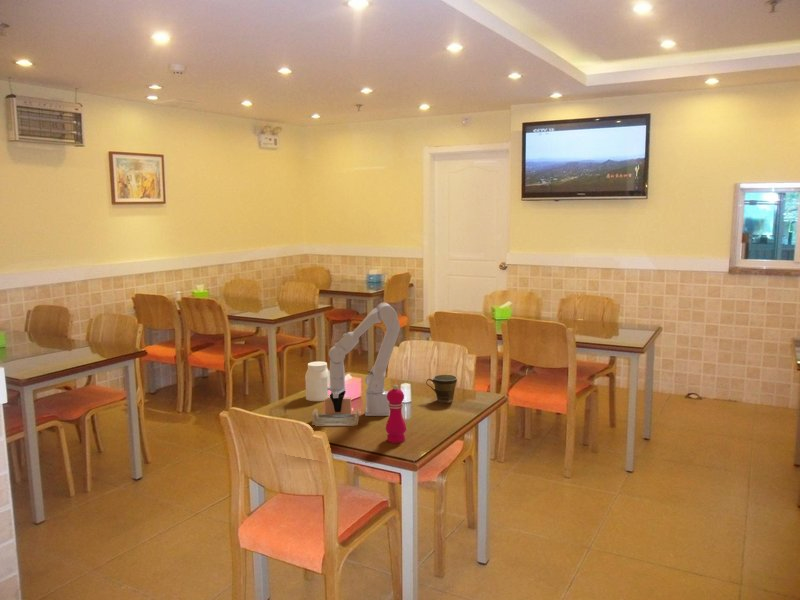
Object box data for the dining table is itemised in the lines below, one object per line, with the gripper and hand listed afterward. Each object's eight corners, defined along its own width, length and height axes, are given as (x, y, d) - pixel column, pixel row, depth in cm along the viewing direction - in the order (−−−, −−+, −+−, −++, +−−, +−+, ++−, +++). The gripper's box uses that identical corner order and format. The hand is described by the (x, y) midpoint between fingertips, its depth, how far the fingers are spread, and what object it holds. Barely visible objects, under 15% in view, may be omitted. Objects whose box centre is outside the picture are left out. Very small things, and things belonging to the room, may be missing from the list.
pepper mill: (406, 436, 233) (405, 382, 230) (406, 443, 226) (405, 387, 223) (386, 436, 233) (385, 382, 230) (385, 443, 226) (384, 387, 223)
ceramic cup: (457, 397, 279) (457, 374, 277) (456, 404, 269) (456, 381, 268) (427, 397, 280) (426, 374, 279) (425, 404, 270) (425, 380, 269)
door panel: (351, 414, 258) (350, 397, 257) (350, 416, 256) (350, 399, 254) (326, 414, 258) (325, 397, 257) (325, 416, 256) (324, 399, 255)
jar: (327, 401, 276) (326, 367, 274) (304, 401, 276) (303, 367, 274) (331, 393, 287) (330, 360, 285) (310, 393, 288) (309, 360, 286)
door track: (359, 418, 253) (358, 407, 252) (357, 425, 245) (357, 414, 244) (315, 419, 253) (315, 408, 252) (312, 426, 245) (311, 414, 244)
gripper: (329, 372, 262) (330, 405, 264) (324, 382, 247) (325, 416, 249) (346, 372, 262) (347, 404, 264) (343, 382, 247) (344, 416, 249)
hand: (338, 410), depth 256 cm, fingers closed on door panel, 2 cm apart
